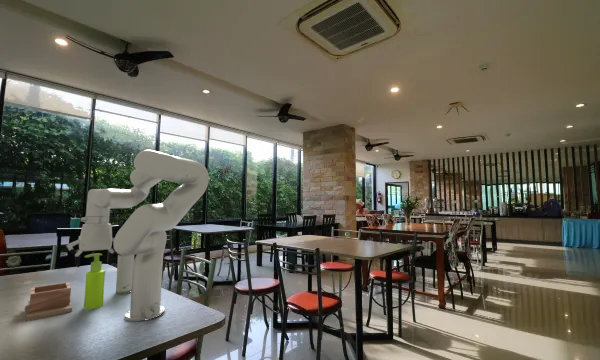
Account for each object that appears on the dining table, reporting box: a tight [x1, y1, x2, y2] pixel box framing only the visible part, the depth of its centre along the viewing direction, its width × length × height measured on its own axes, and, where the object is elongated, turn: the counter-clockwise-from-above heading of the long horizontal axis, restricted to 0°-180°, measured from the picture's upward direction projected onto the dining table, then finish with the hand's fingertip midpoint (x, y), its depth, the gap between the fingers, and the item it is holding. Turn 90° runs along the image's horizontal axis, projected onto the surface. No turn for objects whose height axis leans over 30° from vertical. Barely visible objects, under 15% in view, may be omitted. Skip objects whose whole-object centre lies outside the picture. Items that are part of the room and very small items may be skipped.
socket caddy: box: [25, 281, 73, 322], centre depth 105 cm, size 20×12×8 cm, turn 43°
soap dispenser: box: [83, 253, 106, 310], centre depth 107 cm, size 6×7×20 cm
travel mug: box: [115, 253, 135, 295], centre depth 125 cm, size 6×7×20 cm
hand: (93, 264), depth 108 cm, fingers open, 9 cm apart
